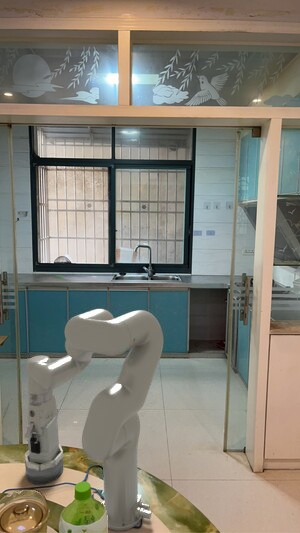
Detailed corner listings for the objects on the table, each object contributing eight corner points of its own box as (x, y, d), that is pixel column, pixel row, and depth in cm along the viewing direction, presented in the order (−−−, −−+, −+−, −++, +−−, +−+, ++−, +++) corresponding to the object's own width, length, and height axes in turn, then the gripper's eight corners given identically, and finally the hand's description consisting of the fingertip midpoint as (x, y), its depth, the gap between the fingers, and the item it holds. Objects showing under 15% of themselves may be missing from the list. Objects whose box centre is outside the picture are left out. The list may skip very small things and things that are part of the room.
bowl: (70, 463, 125) (69, 445, 124) (49, 488, 114) (48, 468, 113) (40, 456, 129) (39, 438, 128) (18, 479, 118) (16, 460, 117)
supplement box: (60, 450, 123) (58, 415, 121) (49, 464, 116) (47, 428, 114) (40, 447, 125) (37, 413, 123) (28, 462, 117) (26, 425, 116)
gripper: (33, 410, 108) (37, 464, 110) (65, 384, 124) (67, 432, 127) (12, 406, 110) (16, 459, 113) (46, 381, 127) (49, 428, 129)
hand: (43, 444), depth 120 cm, fingers closed on supplement box, 7 cm apart
